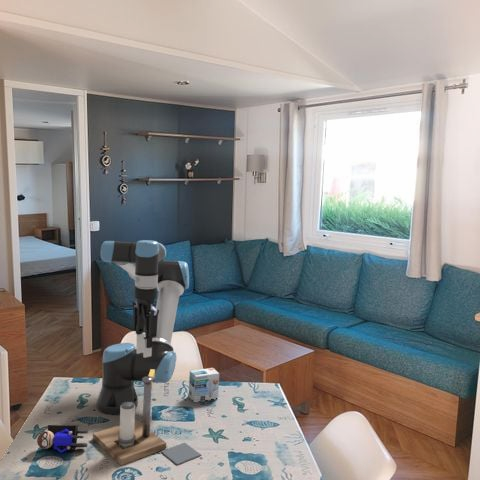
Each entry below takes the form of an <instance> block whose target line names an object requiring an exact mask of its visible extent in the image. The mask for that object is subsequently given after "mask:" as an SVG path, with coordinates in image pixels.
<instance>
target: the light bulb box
mask: <svg viewBox="0 0 480 480" xmlns="http://www.w3.org/2000/svg"><path fill="white" fill-rule="evenodd" d="M188 378H189V381H188V383H189V384H188V397H189V398H190V399H191V401H192V400H193V401H192V402H193V403H194V402H195V403H200V402H199V401H201V402H206V401H205V400H208V401H212V400H211V399H214V400H217V399H216V398H218V399H219V386H220V373H219V372H218V371H217V370H216V369H215V368H214V367H208V368H202V369H195V370H189V377H188Z"/></svg>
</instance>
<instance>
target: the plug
mask: <svg viewBox="0 0 480 480" xmlns="http://www.w3.org/2000/svg"><path fill="white" fill-rule="evenodd" d="M135 420H136V408H135V405H134V403H133V402H124V403H122V404H121V406H120V414H119V425H120V435H119V436H118V441H119V446H120V447H121V448H122V449H125V448H128V447H131V446H134V441H135V439H136V435H135V434H134V431H135Z"/></svg>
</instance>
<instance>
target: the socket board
mask: <svg viewBox="0 0 480 480" xmlns="http://www.w3.org/2000/svg"><path fill="white" fill-rule="evenodd" d="M142 429H143V423H142V422H140V421H139V420H137V419H135V431H134V434H135V435H136V439H135V441H134V446H131V447H128V448H125V449H122V448H121V447H120V446H119V441H118V436H119V435H120V424H118V425H115V426H112V427H108V428H106V429H102V430H99V431H96V432H93V433H92V439H93V441H95V443H96V444H98V446H99V447H101V448H102V449H103V450H104V451H105V452H106V453H107V454H108V455H110V457H111V458H112V459H113V460H115V462H117V463H118V464H119V465H120V466H123V465H126V464H128V463H132V462H134V461H137V460H139V459H141V458H144V457H147V456H150V455H152V454H156V453H158V452H161V451H163V450H166V449H167V442H166V441H165V440H164V439H163V438H161V437H160V436H158V435H157V434H155V433H154V432H153V431H152V430H150V436H149V437H147V438H144V437H142Z"/></svg>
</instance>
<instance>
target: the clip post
mask: <svg viewBox="0 0 480 480" xmlns="http://www.w3.org/2000/svg"><path fill="white" fill-rule="evenodd" d="M153 381H154V378H153V377H151V376H146V377H143V378H142V383H143V400H142V403H143V405H142V406H143V407H142V408H143V409H142V424H143V429H142V437H144V438H147V437H149V436H150V431H151V411H152V410H151V408H152V389H151V384H152V382H153Z"/></svg>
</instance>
